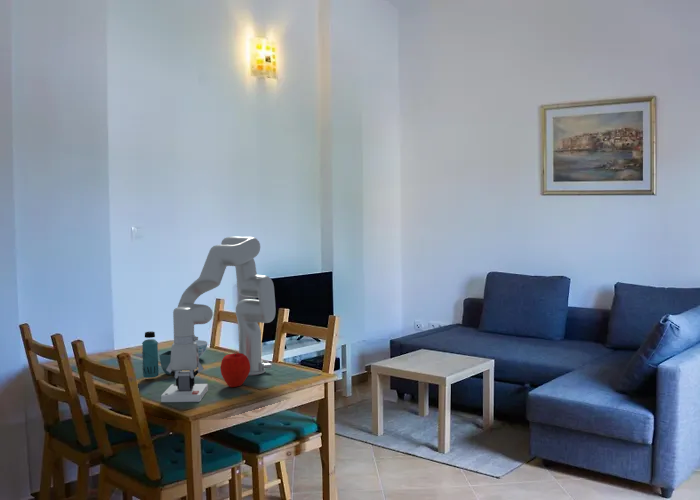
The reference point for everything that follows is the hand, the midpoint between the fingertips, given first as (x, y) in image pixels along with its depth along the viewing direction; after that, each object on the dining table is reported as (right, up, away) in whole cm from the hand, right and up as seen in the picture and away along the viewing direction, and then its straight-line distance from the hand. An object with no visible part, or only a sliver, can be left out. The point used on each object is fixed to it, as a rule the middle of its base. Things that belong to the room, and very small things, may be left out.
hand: (185, 387), depth 261 cm
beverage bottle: (-20, -2, +26) cm, 33 cm away
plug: (0, -1, 0) cm, 1 cm away
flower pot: (-14, -1, +36) cm, 38 cm away
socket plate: (0, -3, 0) cm, 3 cm away
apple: (+17, -2, +13) cm, 22 cm away
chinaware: (-12, 0, +63) cm, 64 cm away
